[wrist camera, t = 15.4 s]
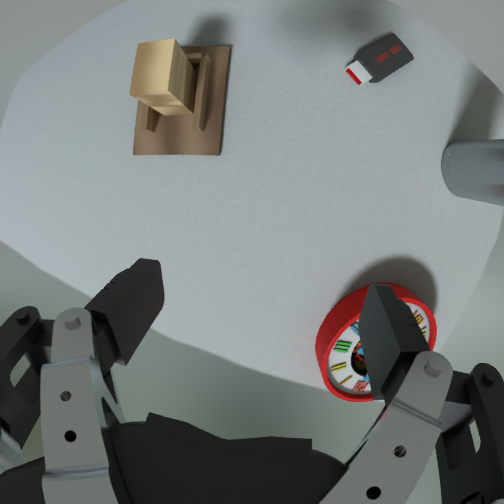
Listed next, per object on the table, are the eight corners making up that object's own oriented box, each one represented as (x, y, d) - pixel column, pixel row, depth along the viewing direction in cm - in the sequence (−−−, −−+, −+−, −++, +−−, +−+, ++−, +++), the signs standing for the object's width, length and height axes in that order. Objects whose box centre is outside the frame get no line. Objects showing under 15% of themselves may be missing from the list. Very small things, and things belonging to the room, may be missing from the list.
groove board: (230, 49, 30) (227, 36, 26) (219, 155, 34) (215, 152, 30) (149, 54, 30) (139, 43, 26) (135, 155, 34) (123, 153, 30)
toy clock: (455, 309, 34) (399, 403, 39) (437, 295, 40) (388, 384, 45) (356, 283, 33) (301, 397, 38) (342, 268, 39) (297, 374, 44)
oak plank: (196, 73, 30) (175, 38, 20) (193, 113, 32) (167, 90, 21) (168, 75, 30) (138, 43, 20) (164, 115, 32) (129, 94, 21)
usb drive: (409, 61, 30) (417, 56, 27) (362, 92, 32) (370, 87, 29) (388, 37, 29) (395, 30, 26) (339, 65, 31) (344, 58, 28)
